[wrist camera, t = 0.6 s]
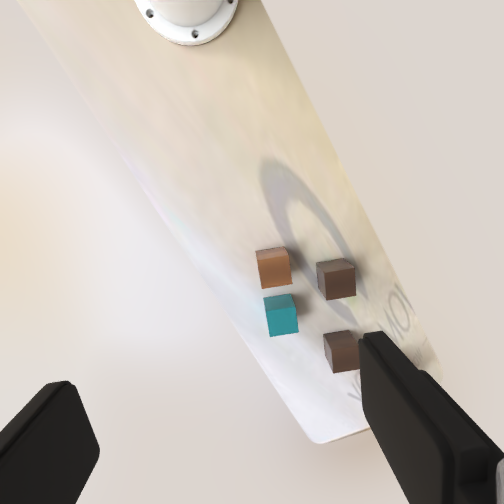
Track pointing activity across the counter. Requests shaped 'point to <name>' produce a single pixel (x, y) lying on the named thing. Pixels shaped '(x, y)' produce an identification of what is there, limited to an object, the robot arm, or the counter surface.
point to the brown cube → (341, 351)
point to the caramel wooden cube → (274, 267)
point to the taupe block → (336, 279)
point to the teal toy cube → (281, 315)
